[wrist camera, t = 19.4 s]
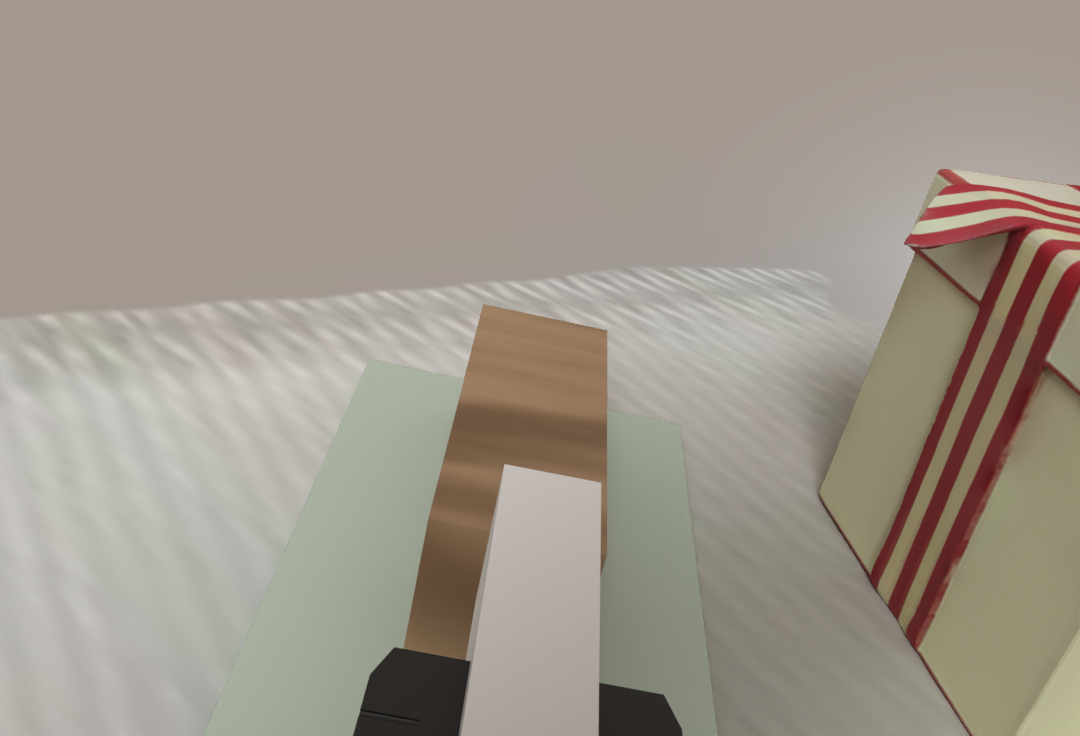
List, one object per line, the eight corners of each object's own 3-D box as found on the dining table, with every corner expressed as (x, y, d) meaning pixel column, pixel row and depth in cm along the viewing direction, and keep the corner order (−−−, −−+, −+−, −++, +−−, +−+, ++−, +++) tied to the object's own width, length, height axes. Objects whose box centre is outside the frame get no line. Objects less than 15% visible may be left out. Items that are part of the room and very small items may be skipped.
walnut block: (606, 555, 28) (607, 327, 40) (428, 518, 28) (484, 301, 40) (567, 683, 30) (579, 431, 43) (402, 651, 30) (463, 407, 42)
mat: (737, 969, 24) (744, 955, 24) (153, 862, 24) (154, 846, 23) (676, 435, 45) (679, 424, 45) (367, 370, 45) (369, 359, 44)
